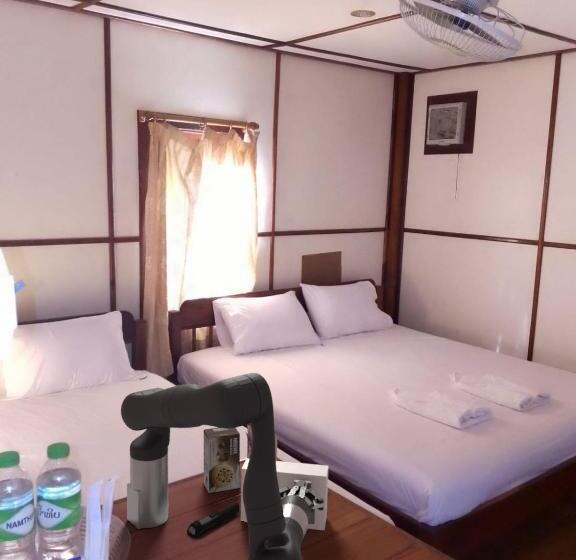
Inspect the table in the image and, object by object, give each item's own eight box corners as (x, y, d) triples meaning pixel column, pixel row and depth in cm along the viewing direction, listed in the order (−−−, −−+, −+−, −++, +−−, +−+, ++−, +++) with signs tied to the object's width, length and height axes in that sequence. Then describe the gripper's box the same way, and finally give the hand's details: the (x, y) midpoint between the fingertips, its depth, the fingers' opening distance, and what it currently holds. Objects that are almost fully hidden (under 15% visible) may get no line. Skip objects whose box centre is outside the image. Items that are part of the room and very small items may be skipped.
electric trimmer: (243, 516, 155) (243, 504, 155) (195, 539, 144) (195, 527, 144) (233, 510, 158) (233, 499, 157) (185, 533, 146) (185, 521, 146)
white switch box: (240, 522, 152) (241, 469, 150) (245, 509, 158) (246, 458, 156) (324, 531, 149) (326, 477, 147) (326, 517, 155) (328, 465, 153)
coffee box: (233, 478, 175) (234, 424, 172) (240, 488, 169) (241, 433, 167) (202, 483, 171) (203, 428, 169) (208, 493, 166) (208, 437, 163)
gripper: (321, 508, 127) (330, 471, 144) (260, 501, 130) (275, 466, 146) (320, 541, 128) (329, 501, 145) (259, 534, 131) (275, 495, 148)
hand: (302, 483), depth 146 cm, fingers closed
